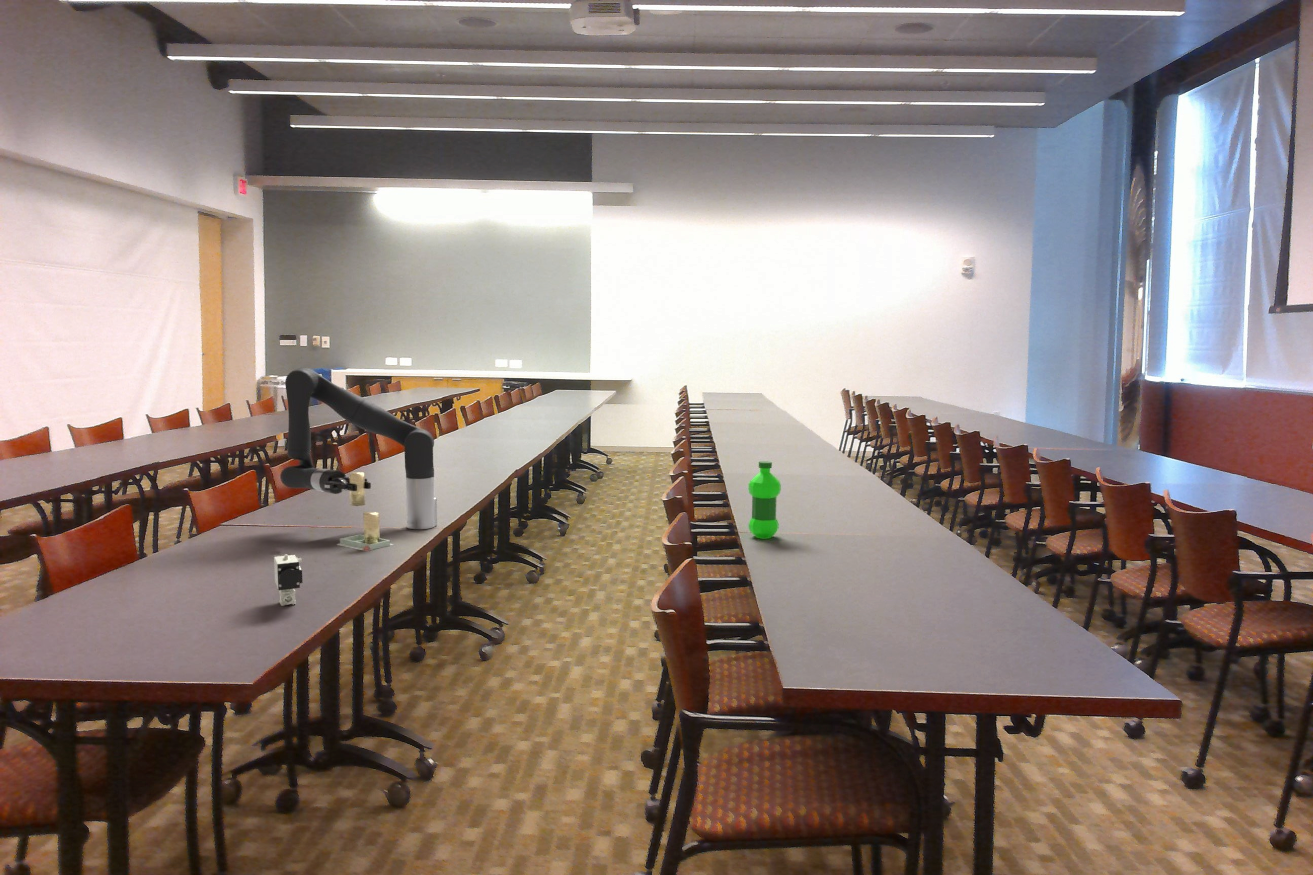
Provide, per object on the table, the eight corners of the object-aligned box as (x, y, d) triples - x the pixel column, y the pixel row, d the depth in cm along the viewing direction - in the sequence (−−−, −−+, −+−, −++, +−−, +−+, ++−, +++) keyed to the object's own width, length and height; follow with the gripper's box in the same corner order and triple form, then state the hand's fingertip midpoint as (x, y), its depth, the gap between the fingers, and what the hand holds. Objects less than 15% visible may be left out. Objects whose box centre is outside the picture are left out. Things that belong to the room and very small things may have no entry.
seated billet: (373, 543, 261) (372, 511, 260) (383, 545, 259) (382, 512, 257) (360, 546, 257) (360, 513, 256) (370, 548, 255) (370, 515, 254)
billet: (359, 502, 272) (358, 471, 271) (368, 504, 270) (367, 473, 268) (347, 504, 268) (346, 473, 267) (356, 506, 266) (355, 474, 265)
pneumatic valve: (279, 611, 199) (277, 561, 198) (274, 598, 210) (272, 550, 208) (305, 608, 202) (303, 558, 201) (299, 595, 212) (297, 548, 211)
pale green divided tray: (363, 542, 268) (363, 533, 267) (393, 549, 260) (393, 539, 260) (336, 549, 259) (336, 539, 259) (366, 555, 252) (366, 545, 252)
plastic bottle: (770, 532, 289) (772, 459, 287) (784, 539, 279) (786, 463, 277) (743, 534, 286) (744, 460, 284) (756, 541, 276) (758, 464, 274)
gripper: (308, 472, 270) (343, 477, 260) (347, 466, 282) (381, 472, 272) (309, 495, 270) (343, 501, 261) (347, 489, 282) (382, 495, 273)
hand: (362, 486), depth 267 cm, fingers closed on billet, 4 cm apart
